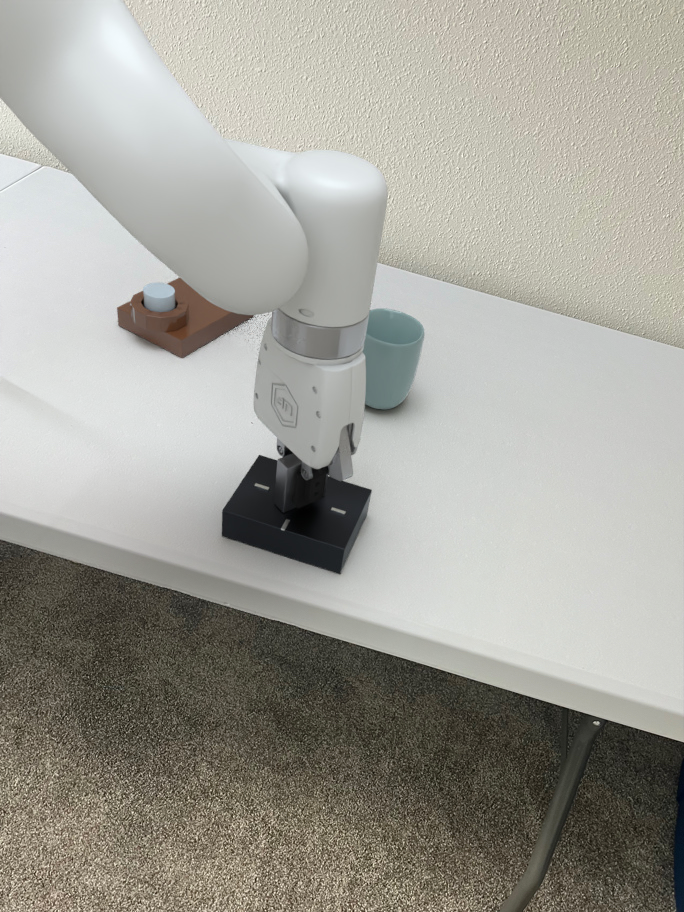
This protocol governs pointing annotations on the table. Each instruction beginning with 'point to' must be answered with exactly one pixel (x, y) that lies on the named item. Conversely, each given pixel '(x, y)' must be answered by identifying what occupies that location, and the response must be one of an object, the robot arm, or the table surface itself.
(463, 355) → the table surface
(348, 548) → the plate
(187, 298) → the brown mounting plate
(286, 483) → the tap knob
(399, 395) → the cup
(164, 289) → the pale blue short cylinder
